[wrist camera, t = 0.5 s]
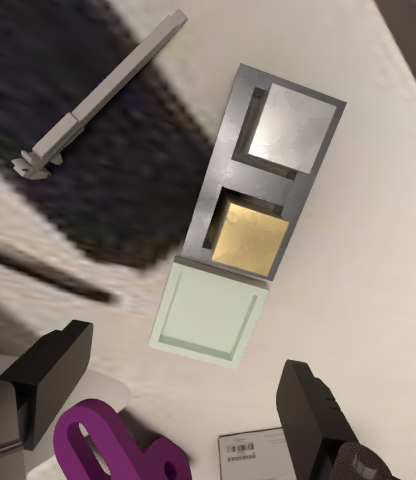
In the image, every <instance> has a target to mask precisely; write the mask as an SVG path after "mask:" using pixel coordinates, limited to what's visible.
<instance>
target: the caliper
mask: <svg viewBox="0 0 416 480" xmlns="http://www.w3.org/2000/svg"><path fill="white" fill-rule="evenodd" d="M186 21H187V18H186V16H185V15H184V14H183V13H182V12H181V10H180V9H179V10H177V11H176V12H175V13H174V14H173V15H172V16H171V17H170V15H169V16H168V17H167V18H166V19H165V20H164V21H163V22H162V23H161V24H160V25H159V26H158V27H157V28H156V29H155V30H154V31H153V32H152V33H151V34H150V35H149V36H148V37H147V38H146V39H145V40H144V41H143V42H142V43H141V44H140V45H139V46H138V47H137V48H136V49H135V50H134V51H133V52H132V53H131V54H130V55H129V56H128V57H127V58H126V59H125V60H124V61H123V62H122V63H121V64H120V65H119V66H118V67H117V68H116V69H115V70H114V71H113V72H112V73H111V74H110V75H109V76H108V77H107V78H106V79H105V80H104V81H103V82H102V83H101V84H100V85H99V86H98V87H97V88H96V89H95V90H94V91H93V92H92V93H91V94H90V95H89V96H88V97H87V98H86V99H85V100H84V101H83V102H82V103H81V104H80V105H79V106H78V107H77V108H76V109H75V110H74V111H73V112H72V113H68V114H67V115H65V116H64V117H63V118H62V119H61V120H60V121H59V122H58V123H57V124H56V125H55V126H54V127H53V128H52V129H51V130H50V131H49V132H48V133H47V134H46V135H45V136H44V137H43V138H42V139H41V140H40V141H39V142H38V143H37V144H36V145H35V146H34V147H33V148H32V149H33V152H32V153H31V152H30V153H27V152H26V151H24V150H22V156H23V157H24V158H25V159H22V158H20V159H15V160H12V161H11V162H12V163H14V164H15V165H16V166H15V167H14V169H15V170H16V171H17V172H18V173H19V174H20V175H21V176H23V177H26V178H29V179H41V178H48V177H49V176H51V175H52V174H51V173H50V172H49V171H48V170H47V169H46V168H45V167H43V166H44V165H45V164H46V163H47V162H48V161H50V162H52V163H54V164H56V165H61V164H62V162H63V160H62V157H61V154H60V152H61V151H62V150H63V149H64V148H65V147H66V146H68V145H69V144H70V143H72V142H73V141H74V140H75V139H76V138H77V136H78V135H79V134H81V133H82V132H83V131H84V130H85V127H84V126H85V125H86V124H87V123H88V122H89V121H90V120H91V119H92V118H93V117H94V116H95V115H96V114H97V113H98V112H99V111H100V110H101V109H102V108H103V107H104V106H105V105H106V104H107V103H108V102H109V101H110V100H111V99H112V98H113V97H114V96H115V95H116V94H117V93H118V92H119V91H120V90H121V89H122V88H123V87H124V86H125V85H126V84H127V83H128V82H129V81H130V80H131V79H132V78H133V77H134V76H135V75H136V74H137V73H138V72H139V71H140V70H141V69H142V68H143V67H144V66H145V65H146V64H147V63H148V62H149V61H150V60H151V59H152V58H153V57H154V56H155V55H156V54H157V53H158V52H159V51H160V50H161V49H162V48H163V47H164V46H165V45H166V44H167V43H168V41H169V40H170V39H171V38H172V37H173V36H174V35H175V33H176V32H177V30H178V29H179V28H180V27H181V26H182V25H183V24H184V23H185V22H186Z"/></svg>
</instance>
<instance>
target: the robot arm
mask: <svg viewBox="0 0 416 480" xmlns="http://www.w3.org/2000/svg"><path fill="white" fill-rule="evenodd" d="M92 335H93V323H89V322H84V321H78V320H72V321H71V322H70V323H69V324H68V325H67V326H66V327H65V328H64V329H63V330H62V331H60V330H54V331H52V332H50V333H48V334H46V335H44V336H42V337H41V338H40V339H39V340H38V341H37V342H36V343H35V344H34V345H33V346H31V347H30V348H29V349H28V350H27V351H26V353H25V354H23V355H22V356H21V357H20V358H19V359H17V360H16V361H15V362H14V363H13V364H12V365H11V366H10V367H9V368H8V369H7V370H6V371H4V372H3V373H2V374H1V375H0V480H26V475H25V465H24V454H23V449H25V450H30V451H33V450H34V449H35V447H36V446H37V444H38V442H39V441H40V440H41V438H42V436H43V435H44V433H45V432H46V430H47V429H48V427H49V426H50V424H51V423H52V421H53V420H54V418H55V417H56V415H57V414H58V412H59V411H60V409H61V408H62V406H63V405H64V403H65V401H66V400H67V399H68V397H69V396H70V394H71V393H72V391H73V389H74V388H75V386H76V385H77V383H78V382H79V380H80V379H81V377H82V376H83V374H84V372H85V371H86V369H87V366H88V363H89V359H90V352H91V344H92ZM276 406H277V411H278V414H279V418H280V421H281V425H282V429H283V432H284V436H285V439H286V443H287V446H288V450H289V454H290V457H291V461H292V464H293V468H294V471H295V475H296V479H297V480H400V479H398V478H396V477H394V476H392V474H391V472H390V470H389V468H388V466H387V465H386V464H385V462H384V461H383V460H382V459H381V458H380V457H379V456H378V455H377V454H376V453H374V452H373V451H372V450H370V449H369V448H367V447H365V446H363V445H361V444H360V443H359V441H358V439H357V438H356V436H355V434H354V432H353V430H352V429H351V427H350V425H349V423H348V421H347V420H346V418H345V416H344V414H343V412H342V411H341V409H340V407H339V405H338V403H337V402H335V398H334V396H333V394H332V393H331V391H330V389H329V388H328V387H327V386H326V385H325V384H324V383H323V382H322V381H321V380H320V379H319V378H315V377H314V376H313V374H312V372H311V370H310V368H309V366H308V364H307V363H305V362H300V361H294V360H289V359H288V360H287V361H286V362H285V365H284V369H283V372H282V376H281V379H280V383H279V386H278V390H277V394H276Z"/></svg>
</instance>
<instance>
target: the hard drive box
mask: <svg viewBox="0 0 416 480" xmlns="http://www.w3.org/2000/svg"><path fill="white" fill-rule="evenodd" d="M218 448H219V463H220V478H221V480H297V479H296V475H295V471H294V468H293V464H292V461H291V457H290V454H289V450H288V446H287V443H286V439H285V436H284V432H283V429H282V428H281V429H274V430H267V431H260V432H253V433H252V432H249V433H243V434H238V435H232V436H226V437H220V438H219V440H218Z"/></svg>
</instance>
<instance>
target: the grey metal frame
mask: <svg viewBox="0 0 416 480" xmlns="http://www.w3.org/2000/svg"><path fill="white" fill-rule="evenodd" d="M272 83H274V84H277V85H279V86H282V87H285V88H287V89H290V90H293V91H295V92H298V93H301V94H304V95H306V96H309V97H312V98H314V99H317V100H320V101H323V102H325V103H328V104H331V105H333V106H336V110H335V112H334V115H333V117H332V120H331V122H330V124H329V127H328V129H327V132H326V134H325V137H324V139H323V142H322V144H321V146H320V149H319V151H318V154H317V156H316V159H315V161H314V164H313V166H312V168H311V171H310V173H309V174H306V173H299V172H292V171H289V172H288V174H287V177H286V178H285V177H282V176H279V175H276V174H273V173H270V172H267V171H264V170H261V169H258V168H255V167H252V166H249V165H246V164H243V163H240V162H237V161H234V160H231V158H232V155H233V152H234V148H235V145H236V142H237V139H238V136H239V133H240V130H241V127H242V124H243V121H244V118H245V115H246V112H247V109H248V106H249V103H250V100H251V97H252V95H253V96H256V97H259V98H260V97H261V96H262V94H263V93H264V92H265V91H266V90H267V89H268V88H269V87H270V86H271V84H272ZM346 104H347V102H344V101H341V100H338V99H336V98H333V97H330V96H328V95H325V94H322V93H320V92H317V91H314V90H312V89H309V88H306V87H304V86H301V85H298V84H295V83H293V82H290V81H287V80H285V79H282V78H279V77H277V76H274V75H271V74H269V73H266V72H263V71H260V70H258V69H255V68H252V67H250V66H247V65H244V64H242V63H240V66H239V69H238V71H237V74H236V77H235V81H234V84H233V87H232V90H231V93H230V97H229V100H228V103H227V106H226V110H225V113H224V116H223V119H222V122H221V126H220V129H219V132H218V135H217V139H216V142H215V145H214V148H213V151H212V155H211V158H210V161H209V164H208V168H207V171H206V174H205V177H204V180H203V184H202V187H201V190H200V193H199V196H198V200H197V203H196V206H195V209H194V213H193V216H192V219H191V222H190V225H189V229H188V232H187V235H186V238H185V242H184V245H183V249H182V253H181V254H183V255H186V256H190V257H193V258H196V259H200V260H203V261H206V262H210V263H213V264H217V265H220V266H223V267H227V268H230V269H233V270H237V271H240V272H243V273H247V274H250V275H253V276H257V277H260V278H263V279H267V280H270V281H273V279H274V276H275V274H276V272H277V269H278V267H279V264H280V262H281V260H282V257H283V255H284V252H285V250H286V248H287V245H288V243H289V240H290V238H291V236H292V233H293V231H294V228H295V226H296V224H297V221H298V219H299V216H300V214H301V212H302V209H303V207H304V204H305V202H306V200H307V197H308V195H309V192H310V190H311V188H312V185H313V183H314V180H315V178H316V176H317V173H318V171H319V168H320V166H321V164H322V161H323V159H324V156H325V154H326V152H327V149H328V147H329V144H330V142H331V140H332V137H333V135H334V132H335V130H336V128H337V125H338V123H339V120H340V118H341V116H342V113H343V111H344V108H345V106H346ZM222 187H225V188H228V189H232V190H235V191H238V192H241V193H244V194H247V195H250V196H253V197H256V198H259V199H262V200H265V201H268V202H271V203H274V204H276V205H275V208H274V211H275V212H276V213H278V214H279V215H280V216H282V217H283V218H284V219H286V220H287V221H288V222H289V224H288V227H287V229H286V232H285V234H284V237H283V239H282V242H281V244H280V246H279V249H278V251H277V254H276V256H275V259H274V261H273V264H272V266H271V268H270V271H269V273H268V276H263V275H260V274H257V273H253V272H250V271H247V270H243V269H240V268H236V267H233V266H230V265H226V264H223V263H220V262H216V261H213V260H212V259H211V243H210V242H209V241H206V240H204V239H205V236H206V233H207V230H208V227H209V224H210V221H211V218H212V215H213V212H214V209H215V206H216V203H217V200H218V197H219V194H220V191H221V188H222Z"/></svg>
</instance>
